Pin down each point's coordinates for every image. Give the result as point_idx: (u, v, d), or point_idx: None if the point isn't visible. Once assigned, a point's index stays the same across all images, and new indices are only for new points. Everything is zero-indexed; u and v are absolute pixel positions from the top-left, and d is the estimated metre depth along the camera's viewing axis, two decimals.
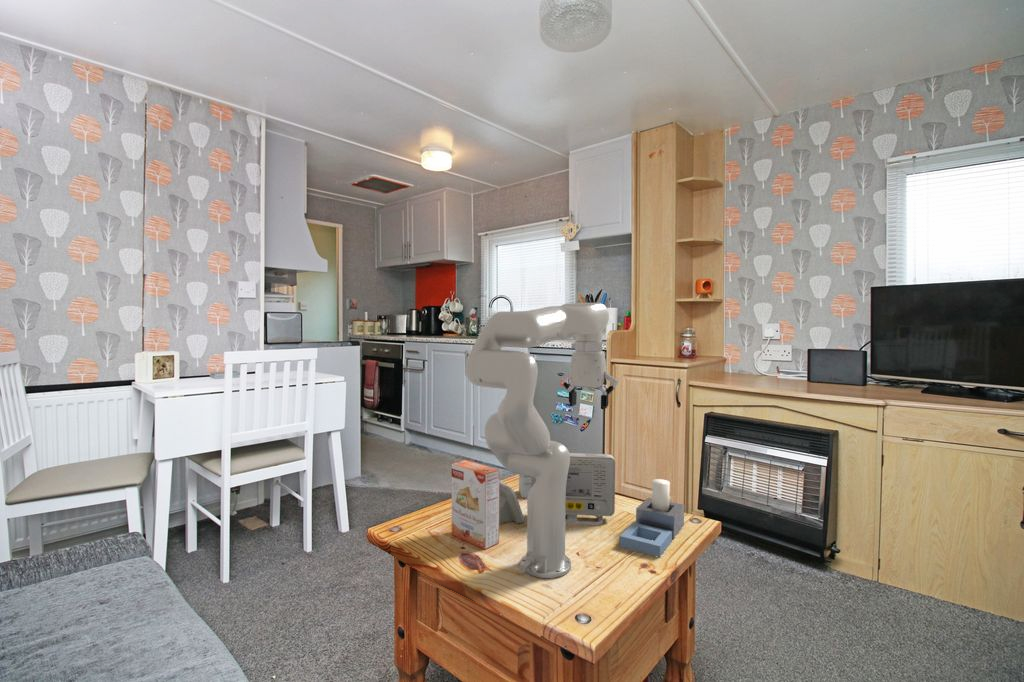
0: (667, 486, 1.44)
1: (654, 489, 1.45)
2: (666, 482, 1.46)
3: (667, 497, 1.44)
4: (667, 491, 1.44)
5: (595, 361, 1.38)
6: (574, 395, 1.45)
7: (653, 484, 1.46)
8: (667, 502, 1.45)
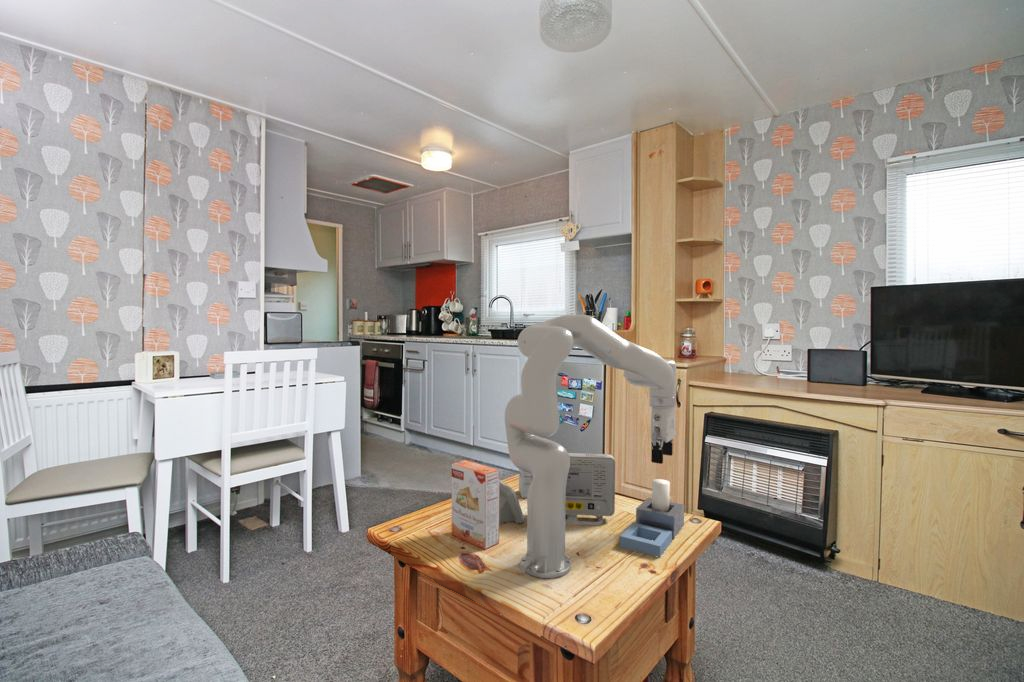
0: (667, 486, 1.44)
1: (654, 489, 1.45)
2: (666, 482, 1.46)
3: (667, 497, 1.44)
4: (667, 491, 1.44)
5: (674, 412, 1.47)
6: None
7: (653, 484, 1.46)
8: (667, 502, 1.45)
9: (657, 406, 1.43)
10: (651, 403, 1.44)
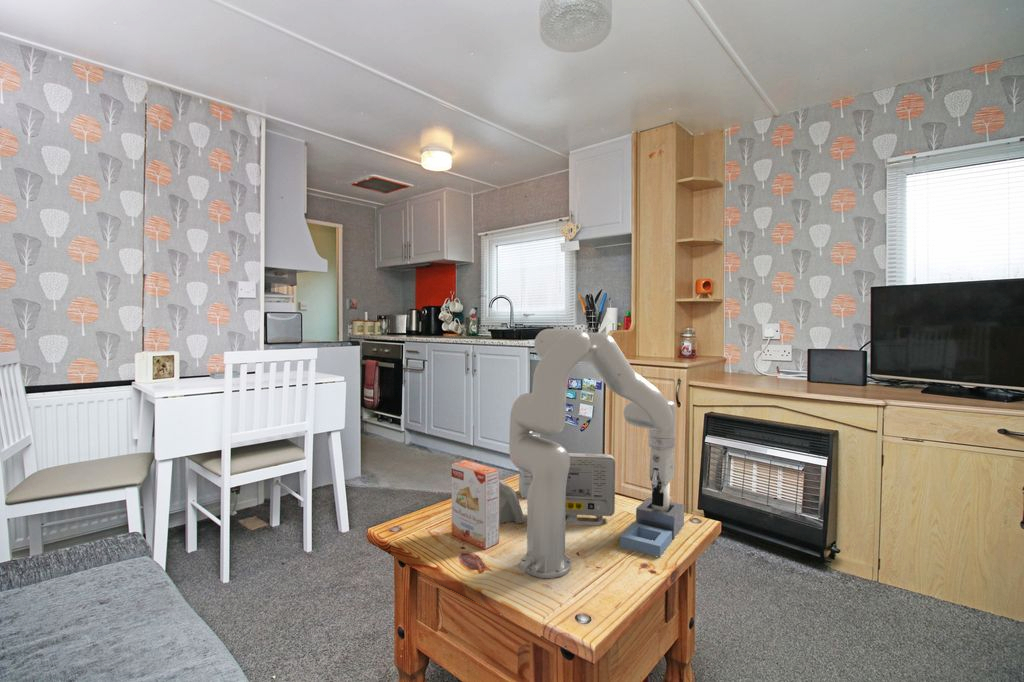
0: (667, 486, 1.44)
1: None
2: None
3: (667, 497, 1.44)
4: (667, 491, 1.44)
5: (672, 452, 1.47)
6: None
7: None
8: (667, 502, 1.45)
9: (656, 447, 1.43)
10: (650, 443, 1.45)
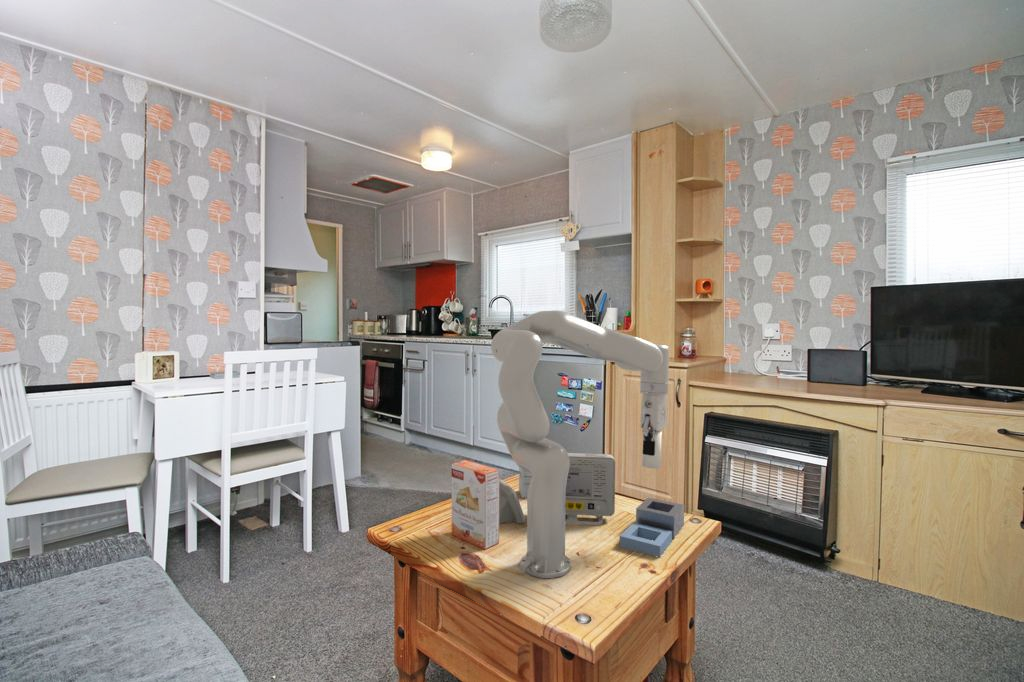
0: (659, 434, 1.36)
1: None
2: None
3: (659, 446, 1.37)
4: (659, 440, 1.37)
5: (665, 400, 1.40)
6: None
7: None
8: (659, 451, 1.37)
9: (648, 392, 1.35)
10: (642, 389, 1.37)
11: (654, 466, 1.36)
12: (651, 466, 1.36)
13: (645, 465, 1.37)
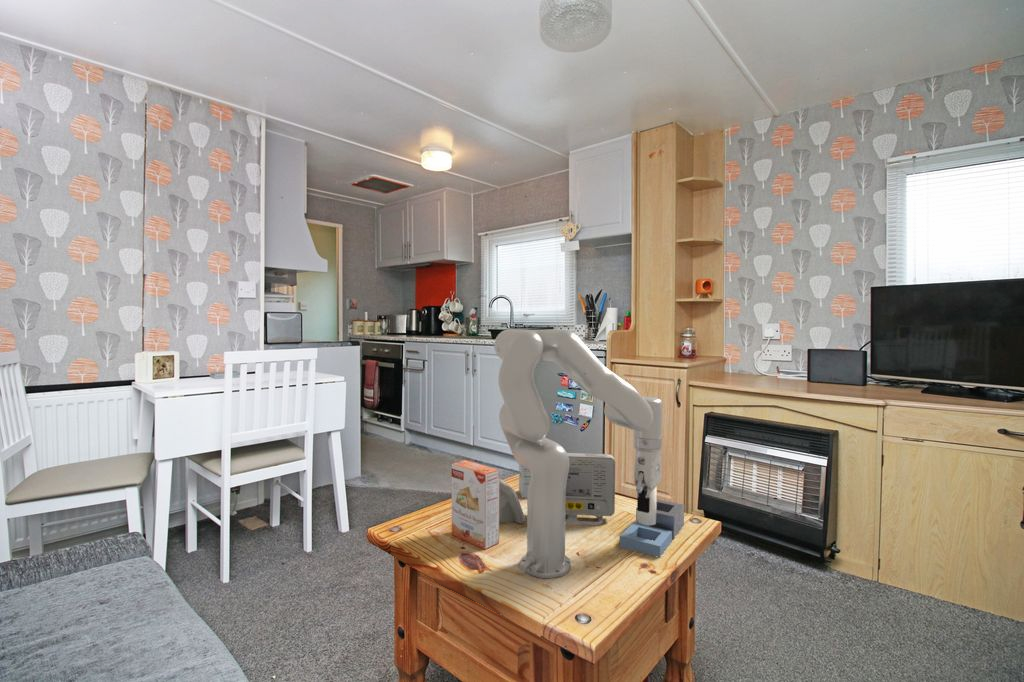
0: (654, 491, 1.33)
1: None
2: None
3: (654, 502, 1.33)
4: (654, 496, 1.33)
5: (660, 454, 1.36)
6: None
7: None
8: (654, 508, 1.34)
9: (641, 448, 1.32)
10: (635, 445, 1.34)
11: (649, 523, 1.33)
12: (646, 523, 1.33)
13: (640, 521, 1.34)
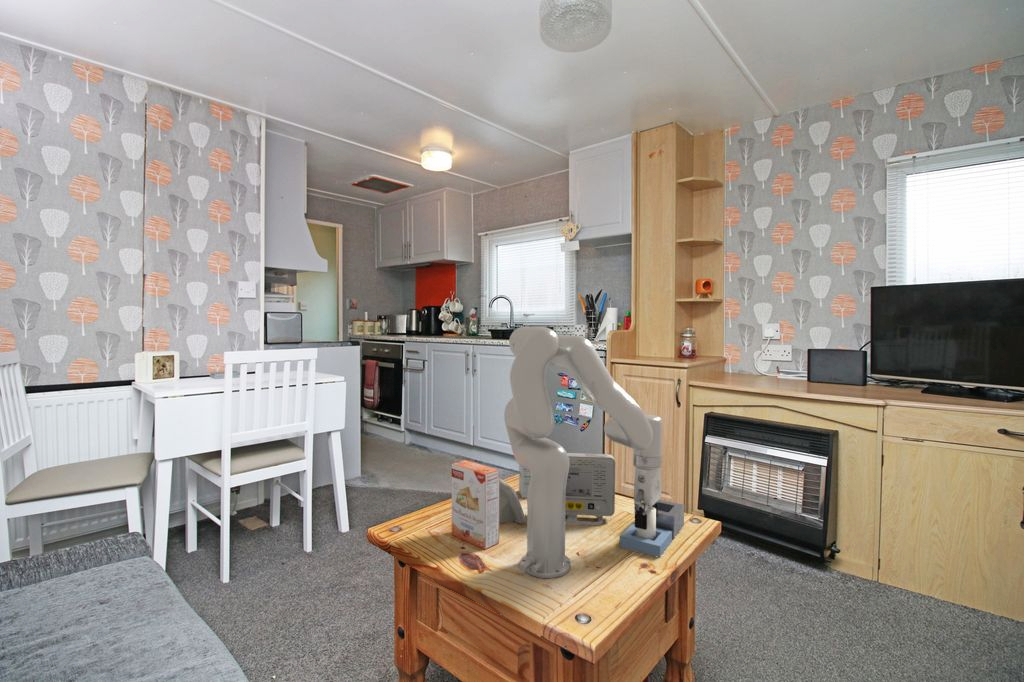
0: (653, 514, 1.34)
1: None
2: (653, 509, 1.35)
3: (653, 526, 1.34)
4: (653, 519, 1.34)
5: (659, 471, 1.37)
6: None
7: None
8: (653, 531, 1.34)
9: (641, 466, 1.32)
10: (635, 462, 1.34)
11: None
12: None
13: None
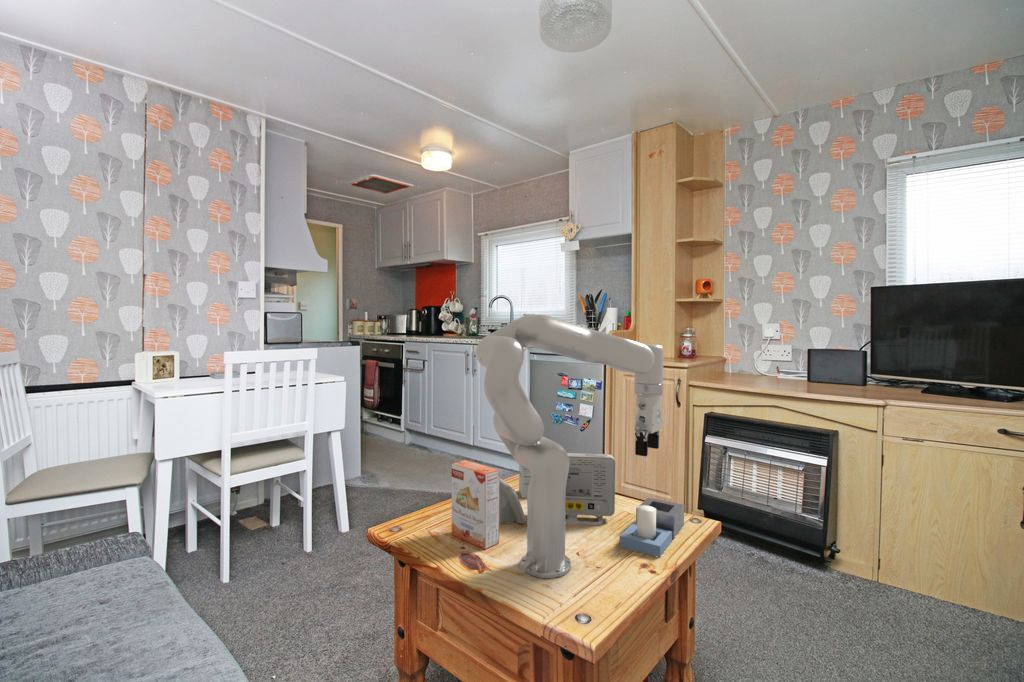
0: (653, 514, 1.34)
1: (639, 517, 1.35)
2: (653, 509, 1.35)
3: (653, 526, 1.34)
4: (653, 519, 1.34)
5: (660, 401, 1.36)
6: None
7: (638, 511, 1.35)
8: (653, 531, 1.34)
9: (642, 394, 1.32)
10: (636, 391, 1.33)
11: None
12: None
13: None
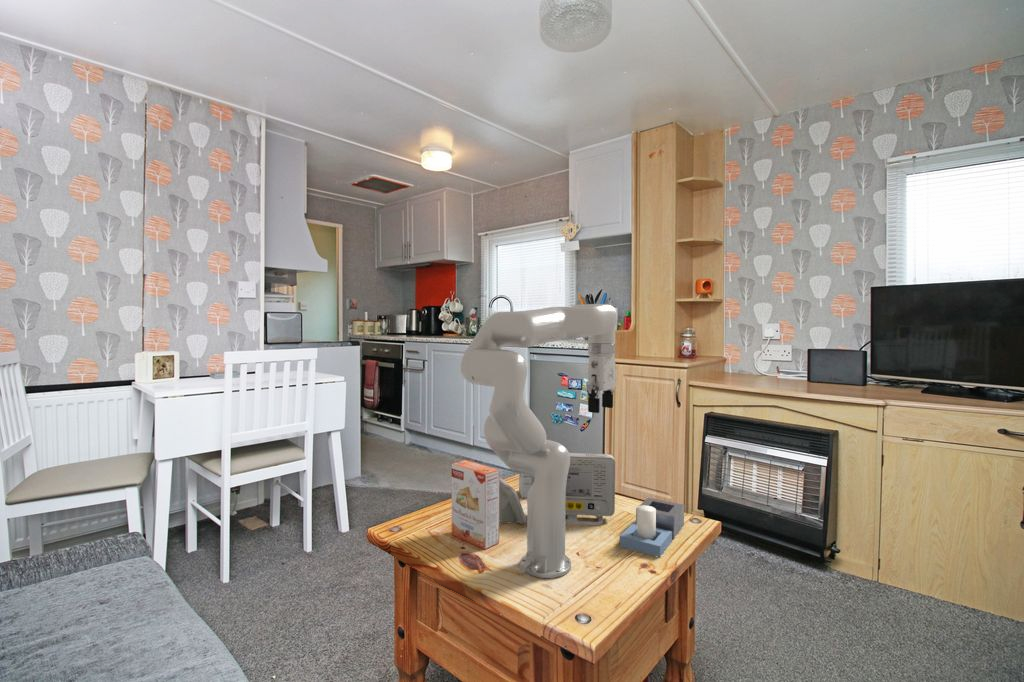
0: (653, 514, 1.33)
1: (639, 517, 1.34)
2: (652, 509, 1.35)
3: (653, 526, 1.34)
4: (653, 519, 1.34)
5: (614, 362, 1.41)
6: None
7: (638, 512, 1.35)
8: (653, 531, 1.34)
9: (594, 353, 1.37)
10: (589, 351, 1.38)
11: None
12: None
13: None
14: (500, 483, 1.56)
